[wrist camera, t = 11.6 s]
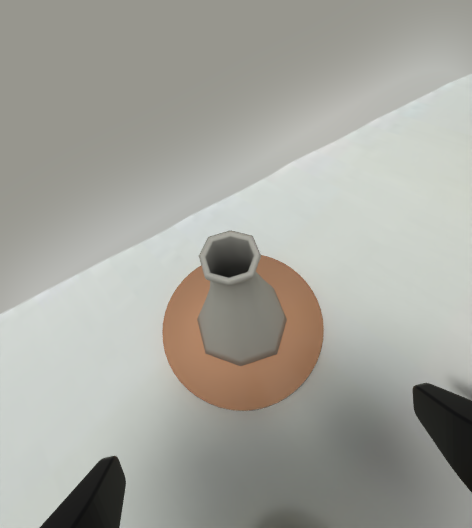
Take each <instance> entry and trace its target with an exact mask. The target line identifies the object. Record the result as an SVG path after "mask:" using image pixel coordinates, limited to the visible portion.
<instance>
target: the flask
mask: <svg viewBox="0 0 472 528" xmlns="http://www.w3.org/2000/svg"><path fill="white" fill-rule="evenodd" d="M199 258H200V262H201V265H202V269H203V272H204V276H205V279H206V280H209V281H210V289H209V292H208V295H207V297H206V300H205V302H204V305H203V307H202V309H201V311H200V314H199V316H198V319H197V321H198V325H199V329H200V333H201V337H202V341H203V345H204V349H205V354H208V355H211V356H214V357H216V358H219V359H222V360H225V361H227V362H230V363H233V364H236V365H239V366H243V365H246V364H249V363H252V362H255V361H258V360H261V359H264V358H267V357H270V356H273V355H276V354H277V352H278V349H279V345H280V342H281V338H282V335H283V331H284V328H285V324H286V320H287V319H286V316H285V314H284V311H283V309H282V307H281V304H280V302H279V299H278V297H277V295H276V292H275V290H274V288H273V287H272V286H271V285H270V284H268V283H267V282H266V281H265V280H264V279H263V278H262V277H261V276H260V275H259V274H258V273H257V272H256V268H257V266H258V263H259V260H260V258H261V255H260V252H259V250H258V248H257V245H256V243H255V240H254V238H253V236H251V235H247V234H243V233H239V232H235V231H227V232H224V233H220V234H217V235H214V236H210V237H208V238H207V241H206V243H205V245H204V247H203V249H202V251H201V253H200V255H199Z"/></svg>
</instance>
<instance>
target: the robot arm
mask: <svg viewBox="0 0 472 528" xmlns="http://www.w3.org/2000/svg"><path fill="white" fill-rule="evenodd" d="M413 404H414V411H415V414H416V416H417V417H418V419H419V420H420V422H421V423H422V425H423V426H424V428H425V429H426V431H427V432H428V434H429V435H430V436H431V438H432V439H433V441H434V442H435V444H436V445H437V447H438V448H439V450H440V451H441V453H442V454H443V456H444V457H445V458H446V460H447V461H448V463H449V464H450V466H451V467H452V468H453V470H454V471H455V472H456V474H457V475H458V476H459V477H460V479H461V480H462V481H463V482H464V484H465V485H466V486H467V487H468V489H469V490H470V491H471V492H472V401H471V400H469V399H466V398H464V397H462V396H459V395H457V394H454V393H452V392H449V391H447V390H444V389H442V388H439V387H437V386H434V385H432V384H429V383H423V384H419V385H415V386H414V387H413ZM125 486H126V480H125V475H124V473H123V470H122V467H121V465H120V462H119V459H118V457H116V456H111V457H106V458H103V459H101V460H100V461H99V462H98V463H97V464H96V465H95V466H94V468H93V469H92V470H91V471H90V472H89V473H88V474H87V475H86V476H85V478H84V479H83V480H82V481H81V482H80V483H79V484H78V485H77V487H76V488H75V489H74V490H73V491H72V492H71V493H70V494H69V495H68V497H67V498H66V499H65V500H64V501H63V502H62V503H61V504H60V506H59V507H58V508H57V509H56V510H55V511H54V512H53V513H52V514H51V516H50V517H49V518H48V519H47V520H46V521H45V522H44V523H43V525H42V526H41V527H40V528H119V526H120V520H121V513H122V506H123V500H124V493H125Z"/></svg>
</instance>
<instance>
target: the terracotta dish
mask: <svg viewBox="0 0 472 528" xmlns="http://www.w3.org/2000/svg"><path fill="white" fill-rule="evenodd" d="M256 272H257V273H258V274H259V275H260V276H261V277H262V278H263V279H264V280H265V281H266V282H267V283H268V284H270V285H271V286H272V287H273V288H274V290H275V292H276V295H277V297H278V299H279V302H280V304H281V307H282V309H283V311H284V314H285V316H286V319H287V320H286V324H285V328H284V331H283V335H282V338H281V342H280V345H279V349H278V352H277V354H276V355H273V356H270V357H267V358H264V359H261V360H258V361H255V362H252V363H249V364H246V365H243V366H239V365H236V364H233V363H230V362H227V361H225V360H222V359H219V358H216V357H214V356H211V355H208V354H205V349H204V345H203V341H202V337H201V333H200V329H199V325H198V321H197V319H198V316H199V314H200V311H201V309H202V307H203V305H204V302H205V300H206V297H207V295H208V292H209V289H210V281H209V280H206V279H205V276H204V272H203V269H202V265H201V266H200V267H198V268H197V269H195V270H194V271H193V272H191V273H190V274H189V275H188V276H187V277H186V278H185V279H184V280H183V281H182V282H181V284H180V285H179V286H178V287H177V289H176V290H175V292H174V293H173V295H172V297H171V299H170V301H169V303H168V306H167V309H166V312H165V316H164V321H163V344H164V349H165V354H166V356H167V359H168V362H169V364H170V366H171V368H172V370H173V372H174V374H175V375H176V376H177V378H178V379H179V381H180V382H181V383H182V384H183V385H184V386H185V387H186V388H187V389H188V390H189V391H190V392H192V393H193V394H194V395H196V396H197V397H199V398H200V399H202V400H204V401H206V402H208V403H209V404H212V405H215V406H217V407H220V408H224V409H229V410H237V411H248V410H257V409H261V408H266V407H268V406H271V405H273V404H276V403H278V402H280V401H282V400H283V399H285V398H287V397H288V396H289V395H291V394H292V393H293V392H295V391H296V390H297V389H298V388H299V387H300V386H301V385H302V384H303V383H304V381H305V380H306V379H307V377H308V376H309V374H310V373H311V372H312V370H313V368H314V366H315V364H316V362H317V360H318V357H319V354H320V351H321V347H322V342H323V318H322V314H321V309H320V306H319V304H318V301H317V299H316V297H315V295H314V293H313V291H312V290H311V288H310V287H309V285H308V284H307V283H306V281H305V280H304V279H303V278H302V277H301V276H300V275H299V274H298V273H297V272H295V271H294V270H293V269H292V268H290V267H289V266H287V265H286V264H284V263H282V262H280V261H278V260H275V259H273V258H270V257H267V256H263V255H261V258H260V260H259V263H258V266H257V268H256Z"/></svg>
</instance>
